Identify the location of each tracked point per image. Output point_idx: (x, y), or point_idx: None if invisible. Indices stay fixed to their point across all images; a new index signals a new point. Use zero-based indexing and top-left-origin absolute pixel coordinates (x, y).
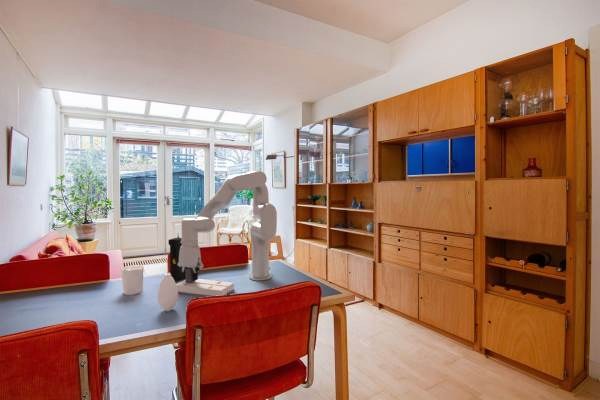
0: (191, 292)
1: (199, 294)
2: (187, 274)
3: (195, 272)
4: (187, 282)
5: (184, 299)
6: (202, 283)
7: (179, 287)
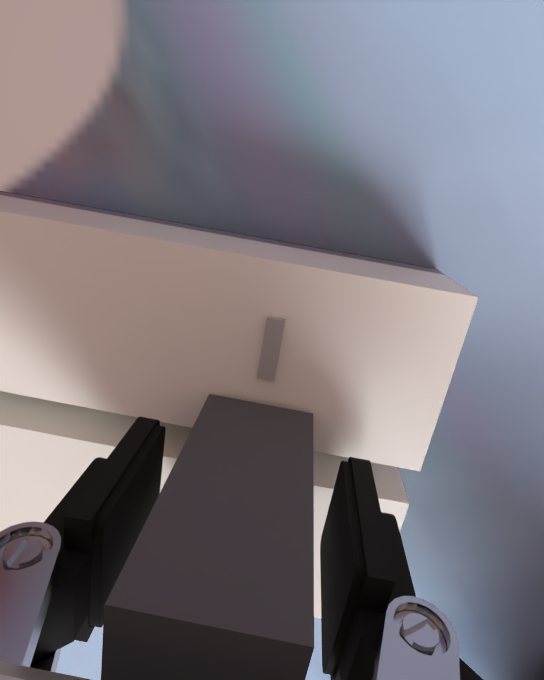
0: (137, 221)
1: (12, 197)
2: (248, 502)
3: (5, 532)
4: (271, 408)
5: (153, 32)
6: (50, 430)
7: (352, 268)
